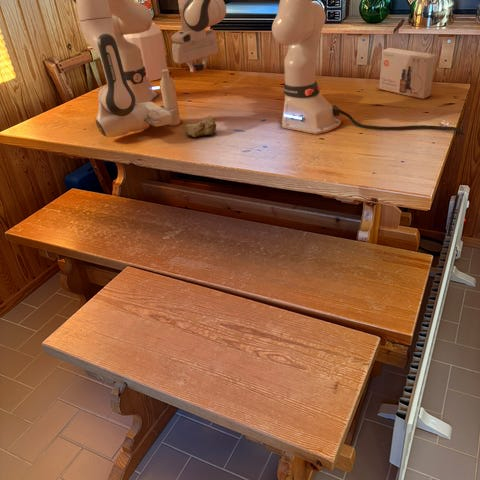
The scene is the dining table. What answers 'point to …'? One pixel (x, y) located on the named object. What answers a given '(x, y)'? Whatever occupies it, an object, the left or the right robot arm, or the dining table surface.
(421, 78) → the skincare box
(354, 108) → the dining table surface
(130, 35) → the container
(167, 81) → the bottle
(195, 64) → the cap
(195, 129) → the rock
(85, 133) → the dining table surface
